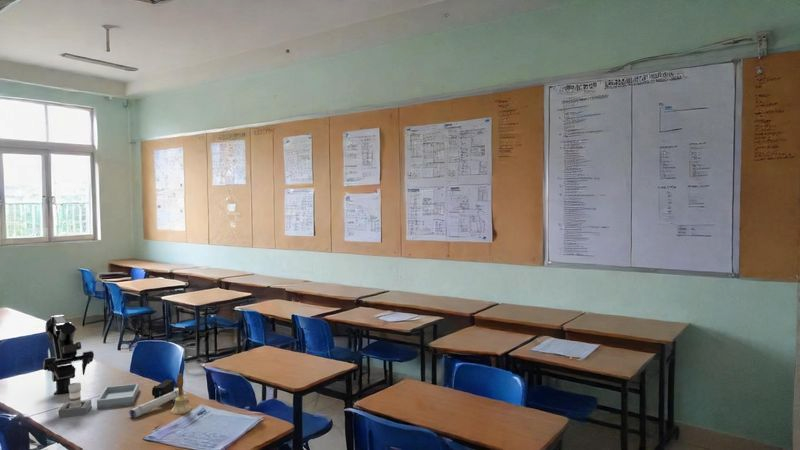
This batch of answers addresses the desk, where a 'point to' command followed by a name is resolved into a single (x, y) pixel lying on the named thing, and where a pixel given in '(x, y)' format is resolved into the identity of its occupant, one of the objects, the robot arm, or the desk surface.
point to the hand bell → (180, 399)
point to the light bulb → (75, 395)
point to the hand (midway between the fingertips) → (71, 376)
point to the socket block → (74, 409)
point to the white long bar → (154, 403)
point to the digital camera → (163, 388)
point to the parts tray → (118, 395)
